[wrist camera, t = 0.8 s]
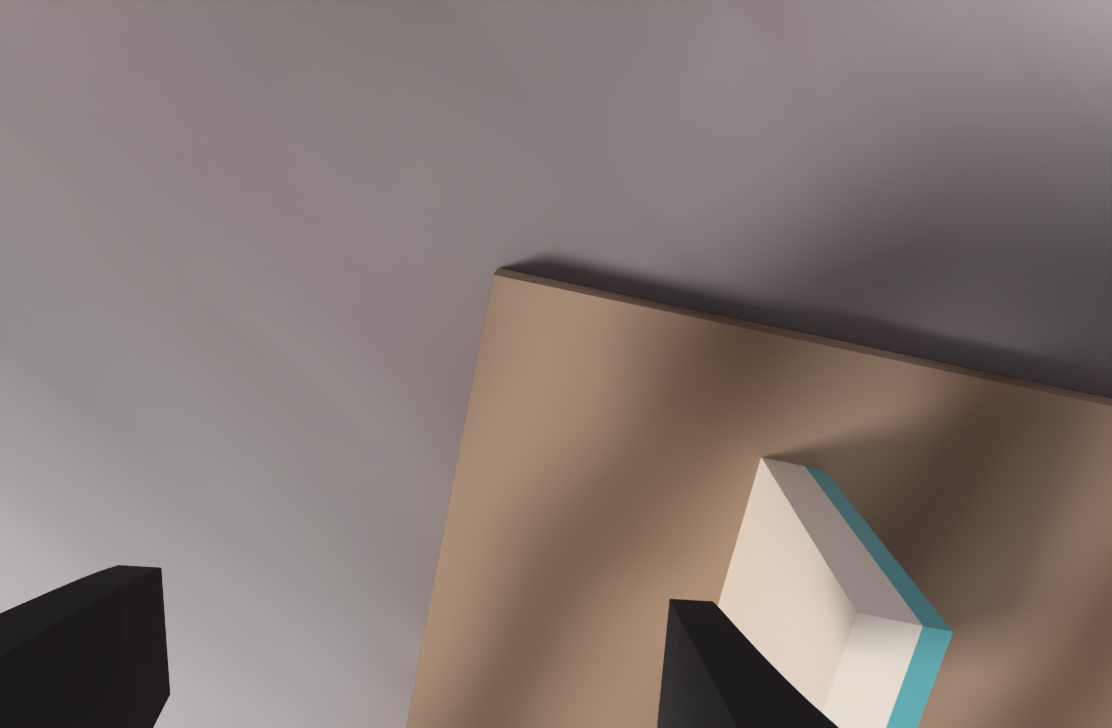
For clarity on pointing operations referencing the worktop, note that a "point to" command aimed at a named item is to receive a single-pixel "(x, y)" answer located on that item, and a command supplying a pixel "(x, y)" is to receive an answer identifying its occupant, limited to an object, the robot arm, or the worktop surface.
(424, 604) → the worktop surface
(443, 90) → the worktop surface
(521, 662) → the board
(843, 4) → the worktop surface
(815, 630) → the tile
